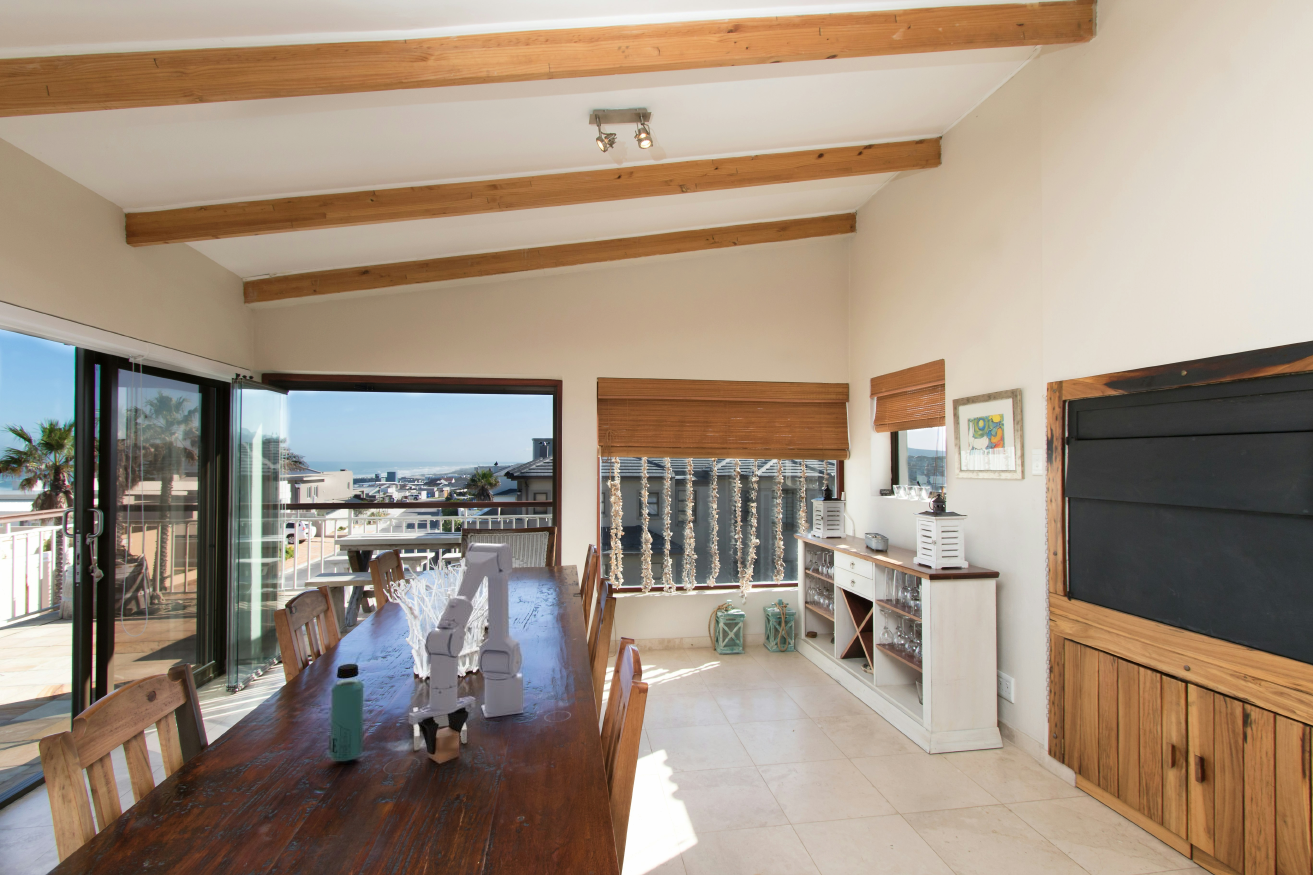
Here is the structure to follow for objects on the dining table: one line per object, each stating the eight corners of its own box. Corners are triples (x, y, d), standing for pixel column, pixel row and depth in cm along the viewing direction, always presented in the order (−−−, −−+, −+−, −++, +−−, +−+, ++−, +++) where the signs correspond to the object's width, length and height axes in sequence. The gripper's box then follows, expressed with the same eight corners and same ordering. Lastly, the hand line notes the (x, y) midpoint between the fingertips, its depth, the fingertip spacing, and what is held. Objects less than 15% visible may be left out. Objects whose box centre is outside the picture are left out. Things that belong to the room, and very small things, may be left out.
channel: (459, 714, 163) (460, 702, 163) (466, 742, 146) (466, 729, 146) (413, 720, 159) (413, 707, 159) (414, 750, 142) (414, 736, 142)
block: (447, 750, 142) (448, 726, 143) (458, 756, 139) (459, 732, 140) (428, 756, 139) (429, 733, 139) (439, 763, 136) (440, 739, 136)
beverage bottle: (370, 757, 138) (372, 662, 139) (345, 771, 132) (348, 671, 133) (345, 753, 141) (348, 659, 141) (320, 766, 134) (323, 667, 135)
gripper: (464, 672, 148) (462, 733, 148) (402, 688, 138) (400, 754, 137) (481, 679, 143) (479, 742, 143) (418, 696, 133) (417, 764, 132)
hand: (442, 749), depth 140 cm, fingers closed on block, 4 cm apart
